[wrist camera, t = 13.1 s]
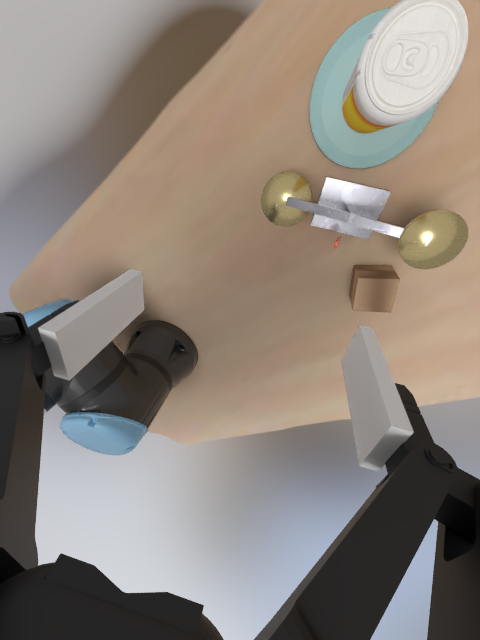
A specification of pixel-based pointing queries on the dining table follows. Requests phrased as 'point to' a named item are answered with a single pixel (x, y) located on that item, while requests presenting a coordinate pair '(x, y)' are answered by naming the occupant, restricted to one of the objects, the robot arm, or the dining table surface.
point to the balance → (364, 217)
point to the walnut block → (373, 288)
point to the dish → (327, 107)
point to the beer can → (406, 64)
